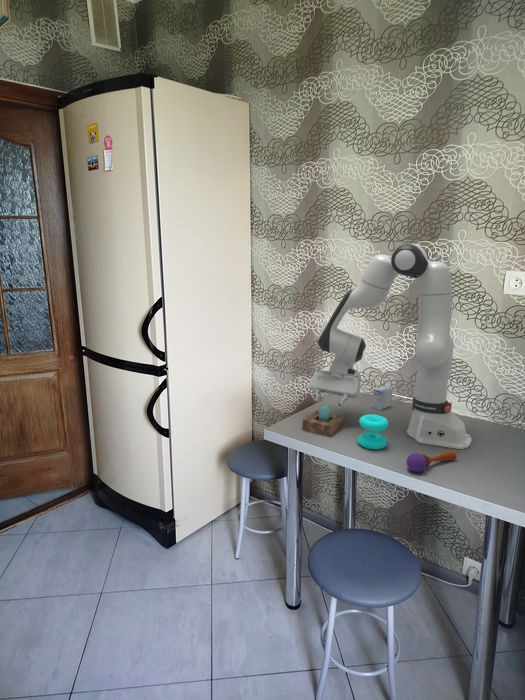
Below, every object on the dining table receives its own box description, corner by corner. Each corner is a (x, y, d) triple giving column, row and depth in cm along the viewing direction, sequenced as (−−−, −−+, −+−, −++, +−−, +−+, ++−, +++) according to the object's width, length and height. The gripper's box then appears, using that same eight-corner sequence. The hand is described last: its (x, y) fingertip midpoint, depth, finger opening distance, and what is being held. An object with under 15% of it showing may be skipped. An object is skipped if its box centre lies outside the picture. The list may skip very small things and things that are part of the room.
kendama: (462, 452, 150) (419, 461, 140) (456, 467, 152) (414, 477, 142) (447, 442, 154) (405, 450, 144) (442, 457, 156) (400, 466, 146)
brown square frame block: (343, 426, 180) (344, 416, 179) (331, 436, 170) (331, 426, 169) (316, 420, 186) (316, 410, 185) (302, 429, 176) (302, 419, 175)
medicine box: (382, 404, 206) (384, 385, 204) (391, 406, 203) (392, 387, 201) (371, 407, 201) (373, 388, 199) (380, 410, 198) (381, 391, 196)
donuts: (383, 425, 155) (355, 419, 160) (381, 453, 157) (353, 446, 162) (392, 416, 163) (365, 411, 168) (390, 443, 165) (363, 436, 170)
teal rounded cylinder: (330, 427, 178) (331, 405, 176) (326, 431, 175) (327, 408, 173) (321, 425, 181) (322, 403, 179) (316, 428, 177) (317, 406, 175)
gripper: (313, 365, 187) (302, 394, 181) (361, 372, 177) (351, 403, 171) (318, 373, 192) (307, 402, 186) (365, 380, 181) (355, 411, 175)
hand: (328, 403), depth 178 cm, fingers open, 8 cm apart
